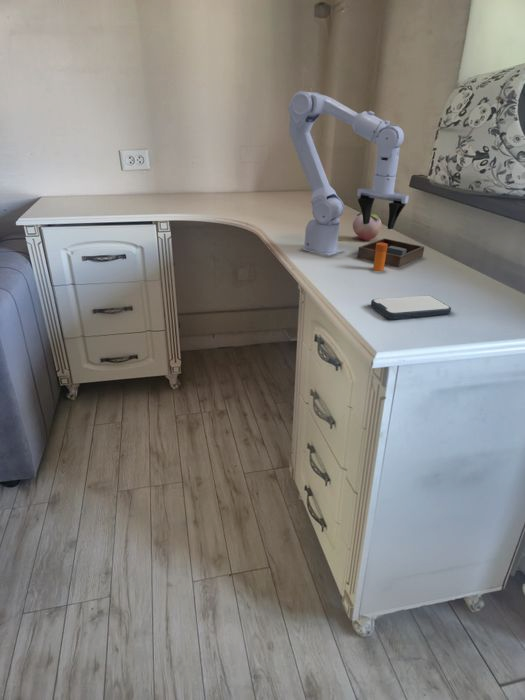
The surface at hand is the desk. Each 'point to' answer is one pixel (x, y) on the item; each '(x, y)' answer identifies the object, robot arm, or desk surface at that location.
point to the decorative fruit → (367, 227)
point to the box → (390, 259)
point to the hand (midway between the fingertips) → (378, 226)
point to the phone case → (410, 307)
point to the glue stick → (380, 256)
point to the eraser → (396, 250)
